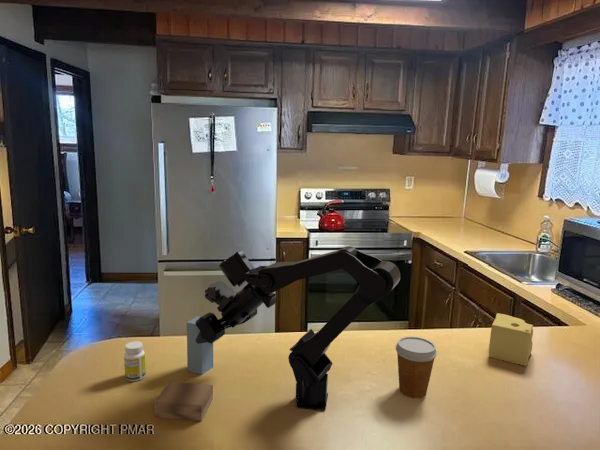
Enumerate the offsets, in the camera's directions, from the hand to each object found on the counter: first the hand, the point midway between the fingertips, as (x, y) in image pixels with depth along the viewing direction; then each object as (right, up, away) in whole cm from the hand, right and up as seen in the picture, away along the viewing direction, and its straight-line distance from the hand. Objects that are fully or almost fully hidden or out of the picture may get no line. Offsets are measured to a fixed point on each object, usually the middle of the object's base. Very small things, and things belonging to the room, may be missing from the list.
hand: (208, 334), depth 112 cm
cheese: (+82, -10, +15) cm, 84 cm away
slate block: (-3, -9, +3) cm, 10 cm away
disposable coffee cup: (+50, -13, -5) cm, 51 cm away
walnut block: (-2, -13, -14) cm, 19 cm away
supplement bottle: (-18, -10, -2) cm, 20 cm away
